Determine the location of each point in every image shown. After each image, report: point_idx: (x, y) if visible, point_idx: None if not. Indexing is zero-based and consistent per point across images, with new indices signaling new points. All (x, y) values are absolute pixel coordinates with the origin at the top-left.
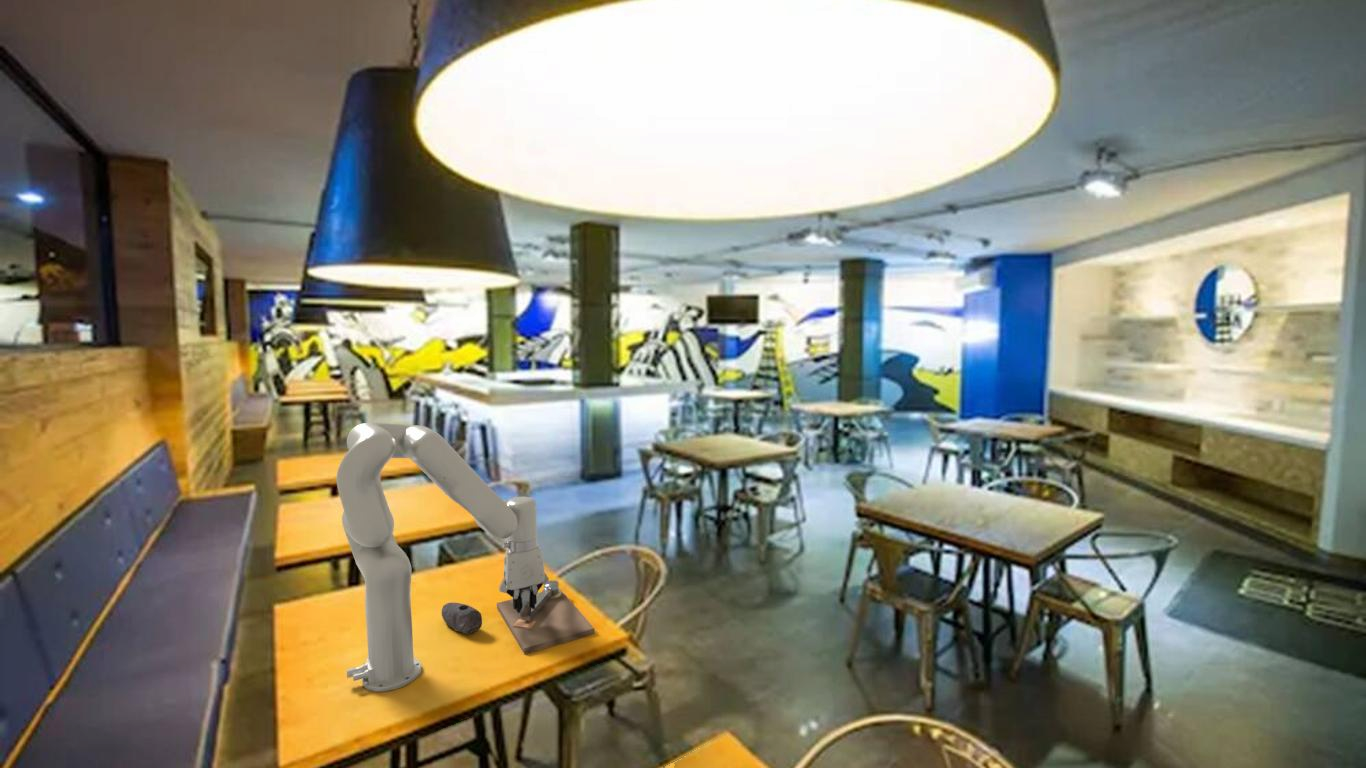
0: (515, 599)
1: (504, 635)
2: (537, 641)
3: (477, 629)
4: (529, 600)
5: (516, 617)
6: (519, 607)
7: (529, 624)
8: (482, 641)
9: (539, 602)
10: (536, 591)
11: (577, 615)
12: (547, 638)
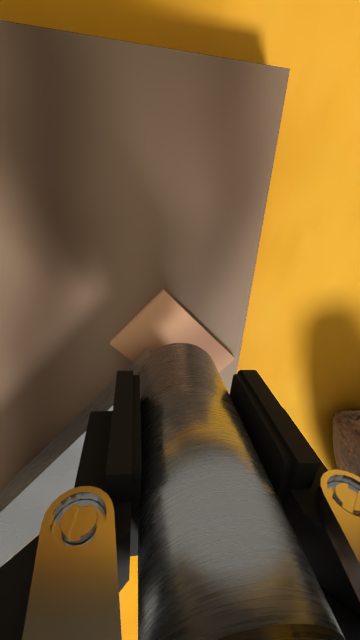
0: (318, 475)
1: (262, 337)
2: (182, 101)
3: (342, 413)
4: (169, 432)
5: None
6: (260, 393)
7: (155, 328)
8: (351, 337)
9: (46, 471)
10: (63, 530)
11: None
12: (107, 91)
